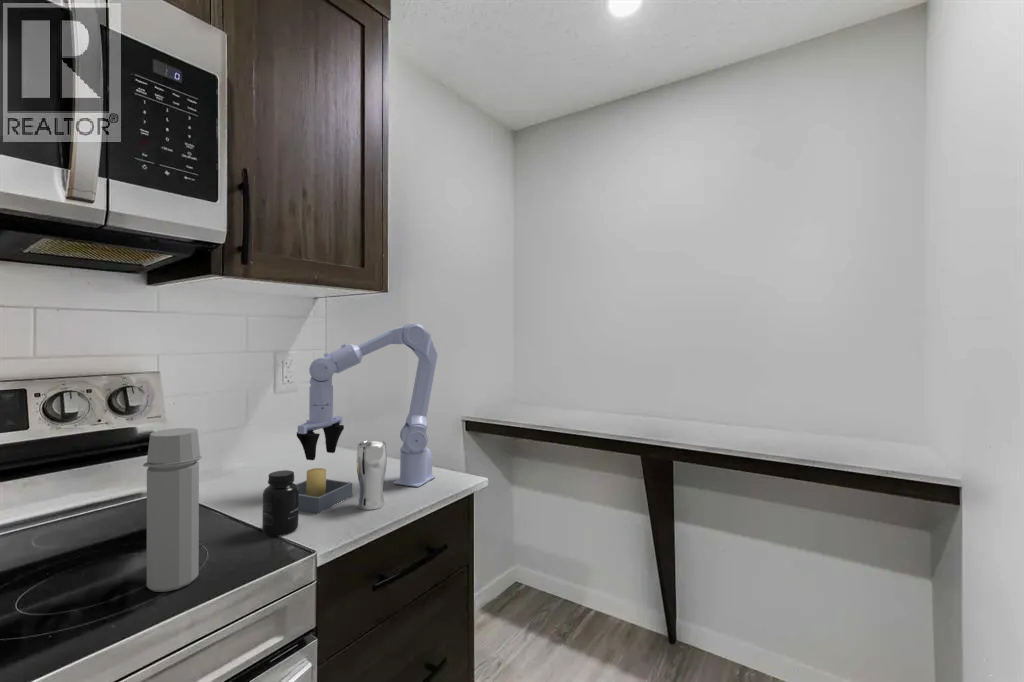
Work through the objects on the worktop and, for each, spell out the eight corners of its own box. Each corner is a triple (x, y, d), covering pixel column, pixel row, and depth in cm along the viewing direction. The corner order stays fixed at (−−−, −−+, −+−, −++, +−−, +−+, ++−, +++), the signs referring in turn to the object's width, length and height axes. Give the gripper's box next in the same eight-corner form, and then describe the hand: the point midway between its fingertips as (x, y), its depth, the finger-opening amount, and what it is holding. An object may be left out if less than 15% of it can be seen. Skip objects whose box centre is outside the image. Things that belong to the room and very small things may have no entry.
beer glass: (349, 507, 113) (350, 444, 112) (371, 498, 119) (371, 438, 119) (371, 513, 110) (372, 448, 109) (392, 503, 116) (393, 442, 115)
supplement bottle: (300, 533, 98) (300, 475, 98) (262, 539, 95) (263, 480, 95) (296, 521, 104) (297, 467, 104) (261, 527, 101) (262, 471, 101)
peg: (315, 495, 119) (315, 467, 119) (329, 497, 118) (330, 469, 118) (302, 500, 115) (302, 472, 115) (316, 503, 114) (317, 474, 113)
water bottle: (207, 581, 79) (208, 432, 78) (148, 601, 73) (149, 439, 73) (191, 562, 85) (192, 424, 85) (136, 579, 79) (136, 430, 79)
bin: (314, 490, 124) (314, 477, 124) (352, 496, 120) (352, 482, 120) (277, 506, 113) (277, 491, 113) (318, 513, 109) (318, 498, 109)
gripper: (327, 399, 132) (327, 448, 132) (287, 407, 118) (287, 461, 118) (349, 400, 129) (348, 450, 130) (311, 409, 116) (310, 464, 116)
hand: (320, 456), depth 124 cm, fingers open, 7 cm apart
